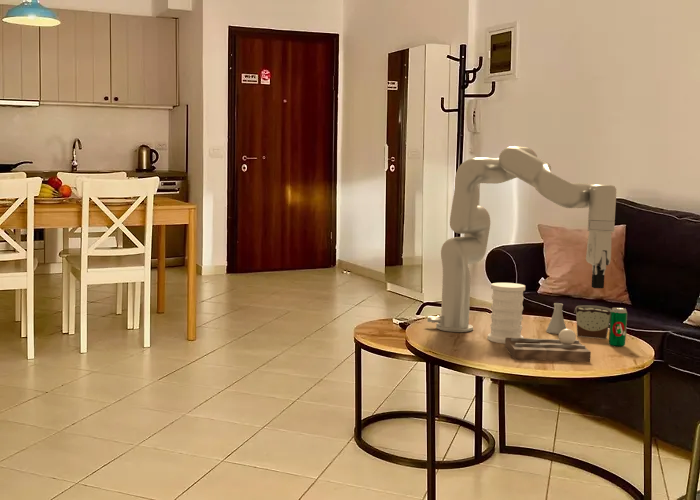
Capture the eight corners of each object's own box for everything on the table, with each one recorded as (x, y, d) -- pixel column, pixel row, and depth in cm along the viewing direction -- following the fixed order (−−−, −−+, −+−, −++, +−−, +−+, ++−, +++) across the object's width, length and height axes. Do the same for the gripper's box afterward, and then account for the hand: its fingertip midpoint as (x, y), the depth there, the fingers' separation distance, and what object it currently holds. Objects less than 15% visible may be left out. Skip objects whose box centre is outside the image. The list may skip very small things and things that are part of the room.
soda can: (613, 343, 261) (616, 306, 260) (628, 346, 257) (630, 309, 256) (605, 345, 257) (607, 308, 256) (619, 348, 254) (622, 310, 252)
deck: (514, 359, 234) (514, 346, 234) (505, 347, 250) (505, 335, 250) (590, 361, 234) (590, 349, 233) (576, 349, 250) (576, 337, 249)
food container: (611, 336, 272) (613, 307, 271) (611, 339, 266) (613, 309, 265) (573, 332, 276) (575, 303, 275) (572, 336, 270) (574, 306, 269)
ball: (560, 346, 239) (561, 330, 238) (556, 343, 244) (557, 326, 243) (577, 347, 239) (578, 330, 238) (572, 343, 244) (573, 327, 243)
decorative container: (501, 344, 253) (504, 288, 251) (480, 337, 264) (483, 283, 262) (531, 342, 258) (534, 287, 256) (509, 335, 269) (512, 281, 267)
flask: (565, 331, 279) (567, 302, 278) (569, 335, 272) (571, 306, 270) (544, 330, 279) (546, 301, 278) (547, 334, 272) (549, 305, 271)
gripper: (581, 224, 245) (578, 284, 247) (595, 227, 230) (591, 291, 232) (606, 225, 245) (602, 284, 247) (621, 228, 230) (617, 292, 232)
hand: (597, 287), depth 239 cm, fingers closed
